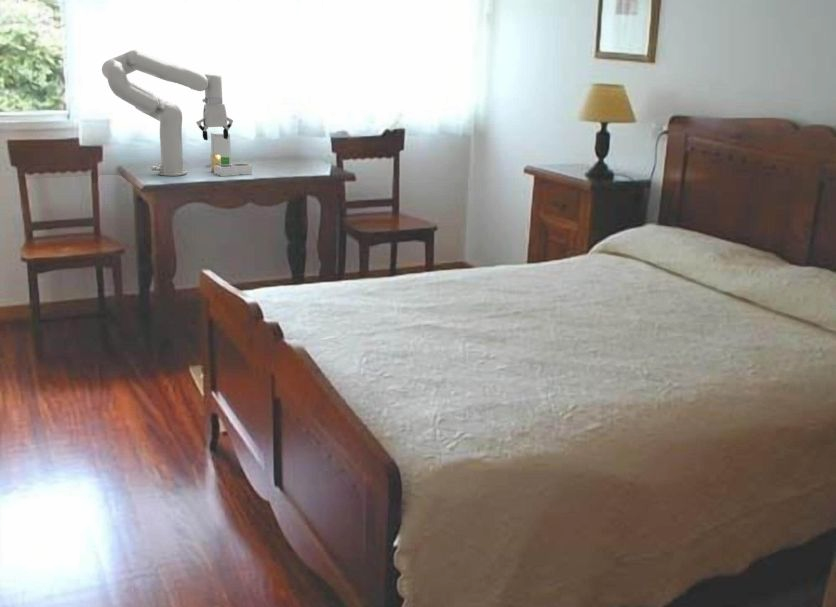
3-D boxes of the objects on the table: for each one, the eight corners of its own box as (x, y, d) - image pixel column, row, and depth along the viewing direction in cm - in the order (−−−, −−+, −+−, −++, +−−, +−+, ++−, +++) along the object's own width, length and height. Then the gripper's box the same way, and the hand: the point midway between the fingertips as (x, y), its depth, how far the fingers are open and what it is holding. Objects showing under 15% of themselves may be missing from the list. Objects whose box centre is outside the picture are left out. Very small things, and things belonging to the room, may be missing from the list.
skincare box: (214, 166, 447) (212, 133, 442) (211, 164, 452) (209, 132, 448) (231, 166, 450) (230, 133, 445) (228, 164, 456) (227, 131, 451)
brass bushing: (213, 172, 429) (212, 155, 426) (209, 171, 432) (209, 154, 430) (222, 172, 431) (221, 154, 429) (218, 171, 434) (218, 153, 432)
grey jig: (221, 176, 420) (220, 167, 418) (214, 173, 426) (213, 164, 425) (251, 174, 428) (251, 165, 427) (244, 171, 434) (244, 162, 433)
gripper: (198, 102, 415) (200, 141, 420) (235, 101, 424) (236, 139, 429) (192, 101, 421) (194, 139, 426) (228, 100, 430) (230, 137, 435)
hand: (215, 139), depth 427 cm, fingers open, 9 cm apart
